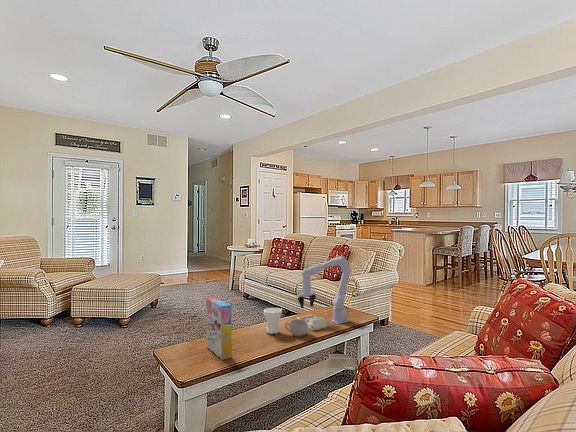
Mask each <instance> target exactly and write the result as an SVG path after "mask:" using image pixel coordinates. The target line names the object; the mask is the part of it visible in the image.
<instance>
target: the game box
mask: <svg viewBox="0 0 576 432" xmlns="http://www.w3.org/2000/svg"><path fill="white" fill-rule="evenodd" d="M205 305H206V306H205V307H206V309H205V310H206V315H205V316H206V348H207V347H208V348H209V349H210V350H209V349H208V348H207V349H208V350H209V351H210V352H212V351H213V352H214V353H215V354H216V355H215V354H214V353H213V352H212V353H213V354H214V355H215V356H217V357H218V358H219V357H220V358H219V359H220V360H221V361H225V360H228V359H231V358H232V357H233V354H232V352H233V351H232V347H233V345H232V344H233V343H232V342H233V341H232V304H230V303H228V302H225V301H223V300H221V299H219V298H217V297H208V298H206V299H205ZM224 359H225V360H224Z"/></svg>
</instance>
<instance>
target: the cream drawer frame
mask: <svg viewBox="0 0 576 432" xmlns="http://www.w3.org/2000/svg"><path fill="white" fill-rule="evenodd" d="M315 316H316V315H314V317H315ZM295 319H300V318H299V316H297V317H295ZM303 320H304V319H303ZM329 327H330V322H329V321H328V320H325V322H323V323H318V324H313V325H312V324H310V323H309V322H308V330H309V331H311V332H314V331H315V332H316V331H319V330H325V329H328V328H329Z"/></svg>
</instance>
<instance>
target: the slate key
mask: <svg viewBox="0 0 576 432" xmlns="http://www.w3.org/2000/svg"><path fill="white" fill-rule="evenodd" d="M314 316H315V317H310V318H305V319H304V320H306V321H307V322H309V319H314V318H319V317H320V316H316V315H314Z"/></svg>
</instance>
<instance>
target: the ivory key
mask: <svg viewBox="0 0 576 432" xmlns="http://www.w3.org/2000/svg"><path fill="white" fill-rule="evenodd" d="M318 317H319V318H314V319H309V323H310V324H312V325H313V324H318V323H323V322H325V321H326V320H325V318H324V317H322V316H318Z"/></svg>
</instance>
